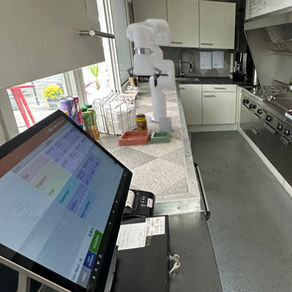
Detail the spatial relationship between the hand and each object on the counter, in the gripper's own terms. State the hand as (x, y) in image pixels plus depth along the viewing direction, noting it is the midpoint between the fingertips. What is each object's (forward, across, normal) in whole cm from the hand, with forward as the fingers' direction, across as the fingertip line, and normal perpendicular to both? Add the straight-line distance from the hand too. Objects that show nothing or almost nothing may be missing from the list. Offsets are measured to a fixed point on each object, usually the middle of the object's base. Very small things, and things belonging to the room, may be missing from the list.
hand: (146, 86), depth 126 cm
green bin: (+31, -6, -1) cm, 31 cm away
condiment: (+31, +7, -16) cm, 36 cm away
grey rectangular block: (+31, -8, -16) cm, 36 cm away
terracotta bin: (+31, +8, -2) cm, 32 cm away
